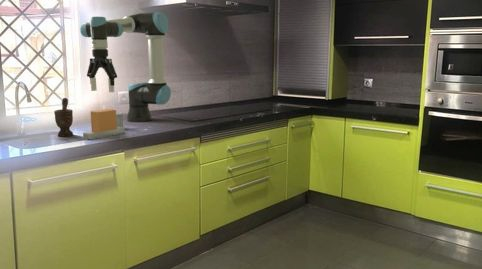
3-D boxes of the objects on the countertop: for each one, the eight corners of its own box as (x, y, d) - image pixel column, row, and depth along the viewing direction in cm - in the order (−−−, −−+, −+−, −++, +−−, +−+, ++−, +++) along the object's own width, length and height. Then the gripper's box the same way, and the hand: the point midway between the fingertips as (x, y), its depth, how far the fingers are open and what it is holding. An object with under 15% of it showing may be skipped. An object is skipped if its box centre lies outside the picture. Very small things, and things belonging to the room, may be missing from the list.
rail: (118, 132, 236) (118, 126, 235) (125, 133, 233) (124, 127, 232) (83, 138, 218) (83, 132, 217) (90, 139, 215) (89, 133, 215)
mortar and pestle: (81, 135, 225) (78, 97, 222) (65, 138, 219) (62, 98, 215) (68, 133, 232) (65, 95, 229) (53, 135, 226) (49, 97, 222)
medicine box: (123, 128, 248) (122, 112, 247) (121, 129, 244) (120, 113, 242) (109, 128, 248) (108, 112, 246) (107, 129, 244) (106, 114, 242)
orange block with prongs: (109, 133, 232) (108, 109, 229) (117, 134, 228) (115, 109, 226) (92, 136, 223) (90, 111, 220) (99, 138, 219) (98, 112, 217)
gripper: (77, 48, 222) (80, 90, 227) (110, 48, 209) (113, 93, 213) (90, 48, 229) (92, 89, 233) (122, 48, 215) (125, 92, 219)
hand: (102, 91), depth 223 cm, fingers open, 13 cm apart
